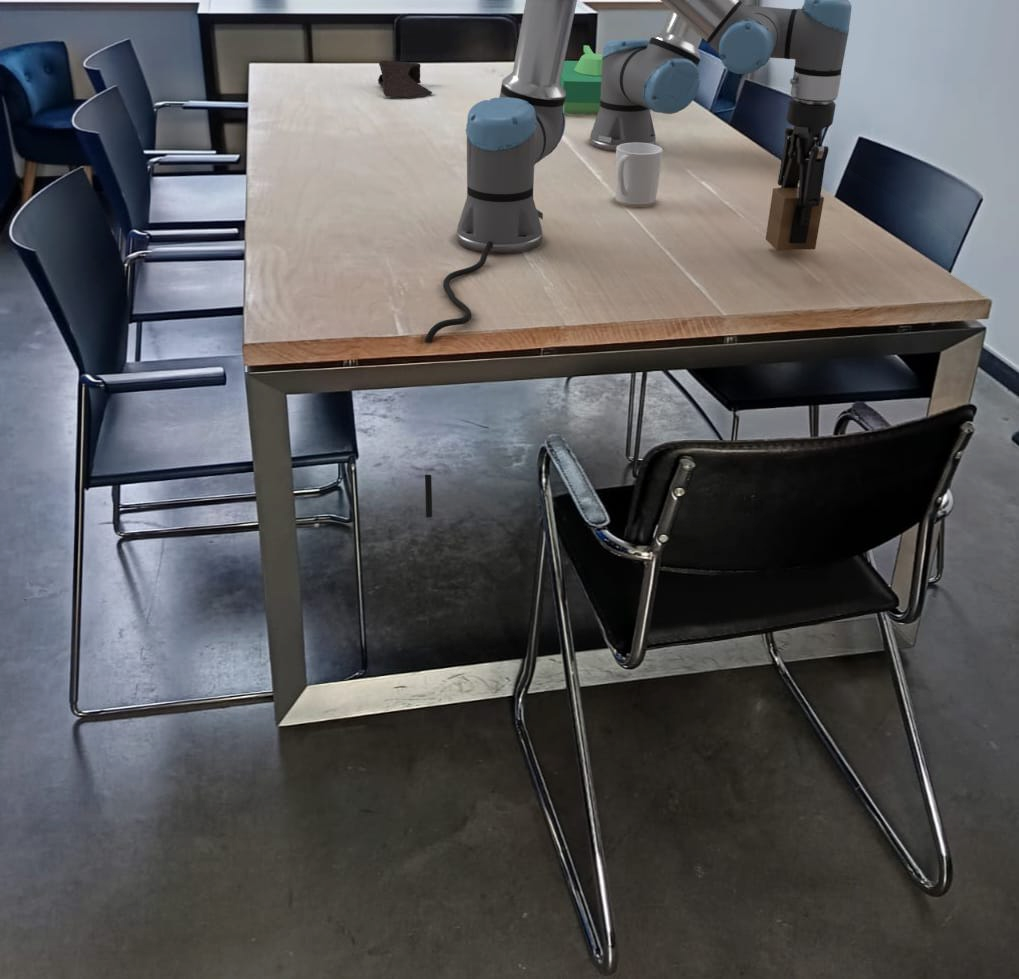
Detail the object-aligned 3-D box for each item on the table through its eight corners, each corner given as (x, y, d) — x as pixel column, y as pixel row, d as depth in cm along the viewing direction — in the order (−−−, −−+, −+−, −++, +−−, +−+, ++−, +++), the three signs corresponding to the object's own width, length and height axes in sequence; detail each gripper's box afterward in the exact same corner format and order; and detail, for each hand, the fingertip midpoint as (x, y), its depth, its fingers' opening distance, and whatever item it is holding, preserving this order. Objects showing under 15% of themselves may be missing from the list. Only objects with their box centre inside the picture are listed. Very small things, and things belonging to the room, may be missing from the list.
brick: (803, 238, 196) (811, 187, 191) (815, 249, 191) (824, 197, 186) (765, 239, 195) (772, 187, 190) (776, 250, 190) (784, 198, 185)
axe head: (443, 87, 294) (392, 77, 287) (436, 115, 299) (385, 106, 292) (421, 62, 307) (371, 52, 300) (414, 89, 311) (365, 80, 304)
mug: (629, 191, 223) (633, 140, 217) (666, 200, 218) (671, 148, 212) (597, 203, 215) (601, 150, 210) (635, 213, 210) (640, 159, 205)
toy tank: (617, 42, 302) (635, 66, 272) (613, 88, 309) (631, 117, 279) (553, 40, 301) (564, 65, 271) (551, 87, 308) (562, 116, 278)
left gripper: (771, 87, 187) (752, 219, 199) (812, 113, 171) (789, 255, 183) (813, 87, 188) (792, 218, 200) (857, 112, 172) (831, 254, 184)
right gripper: (513, -129, 215) (511, -11, 226) (532, -122, 194) (529, 7, 205) (550, -128, 216) (546, -11, 227) (574, -122, 195) (568, 7, 206)
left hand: (790, 236), depth 192 cm, fingers closed on brick, 6 cm apart
